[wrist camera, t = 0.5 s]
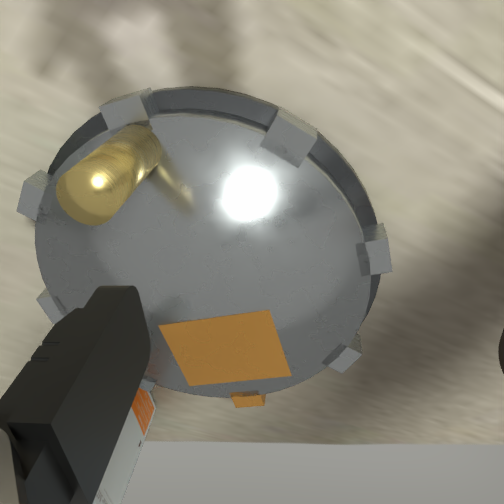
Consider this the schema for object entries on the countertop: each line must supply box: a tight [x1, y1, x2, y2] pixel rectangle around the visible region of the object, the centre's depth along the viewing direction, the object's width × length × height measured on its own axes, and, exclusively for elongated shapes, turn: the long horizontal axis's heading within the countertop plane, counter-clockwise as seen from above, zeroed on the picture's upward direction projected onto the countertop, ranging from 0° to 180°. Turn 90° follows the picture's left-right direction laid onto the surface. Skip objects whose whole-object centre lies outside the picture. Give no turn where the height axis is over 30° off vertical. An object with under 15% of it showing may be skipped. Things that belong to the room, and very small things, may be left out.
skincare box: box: [93, 388, 156, 504], centre depth 38 cm, size 6×4×12 cm
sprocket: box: [17, 88, 392, 408], centre depth 28 cm, size 27×27×9 cm
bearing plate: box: [48, 86, 381, 322], centre depth 33 cm, size 26×26×1 cm
